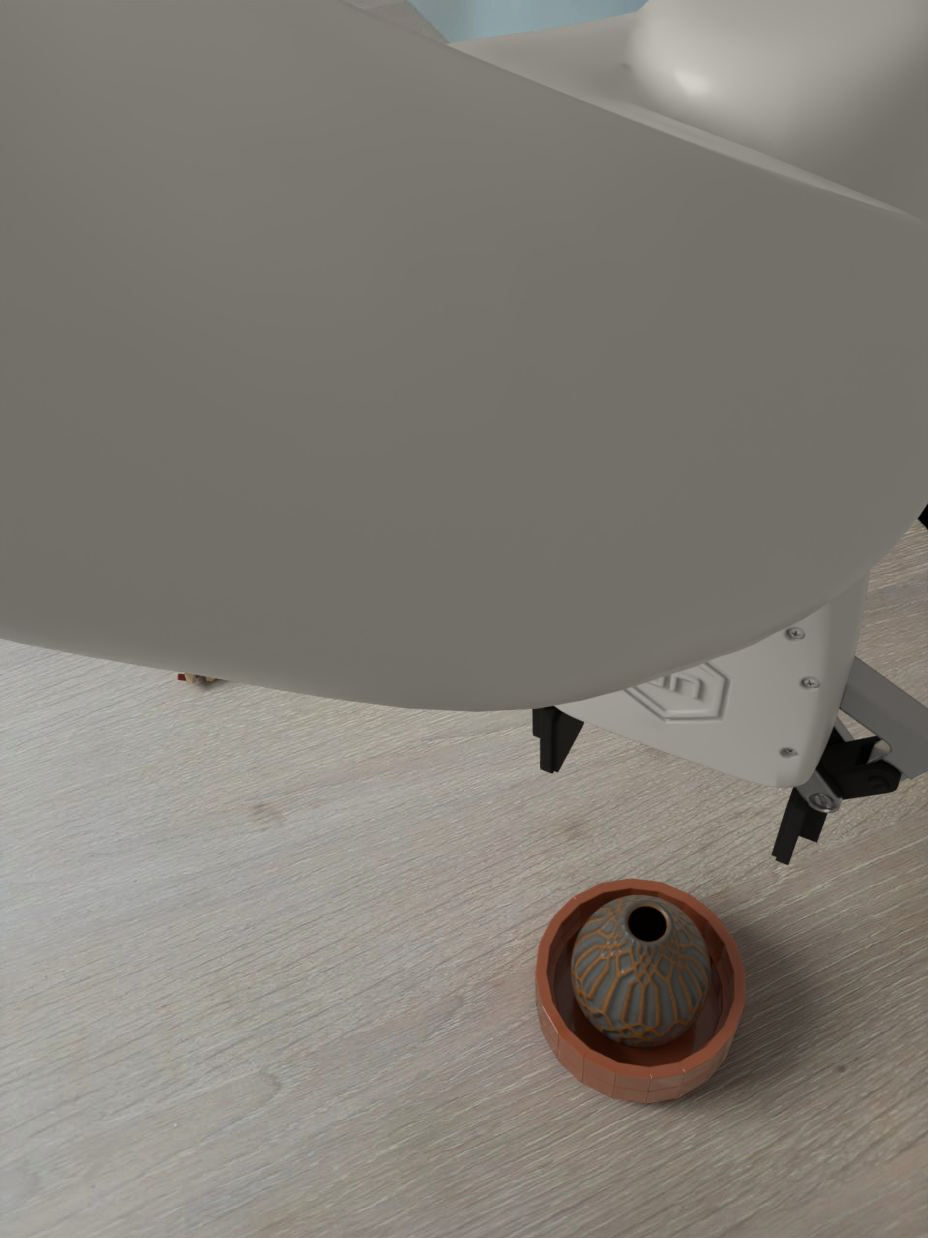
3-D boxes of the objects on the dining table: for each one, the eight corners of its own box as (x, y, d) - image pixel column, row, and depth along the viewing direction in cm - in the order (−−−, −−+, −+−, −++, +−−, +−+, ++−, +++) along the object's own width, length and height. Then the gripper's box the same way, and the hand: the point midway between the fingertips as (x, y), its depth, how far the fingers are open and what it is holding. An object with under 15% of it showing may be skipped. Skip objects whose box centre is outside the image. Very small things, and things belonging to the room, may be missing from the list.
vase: (610, 1090, 54) (619, 1020, 48) (546, 970, 59) (547, 891, 52) (728, 1031, 56) (753, 955, 50) (658, 918, 60) (672, 835, 54)
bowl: (695, 1144, 53) (705, 1117, 50) (503, 1049, 57) (501, 1018, 54) (760, 961, 59) (772, 927, 56) (583, 885, 63) (585, 850, 60)
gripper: (401, 459, 32) (440, 782, 45) (1022, 643, 26) (866, 955, 39) (510, 326, 37) (518, 655, 49) (1065, 459, 31) (912, 794, 43)
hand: (672, 788), depth 44 cm, fingers open, 9 cm apart
